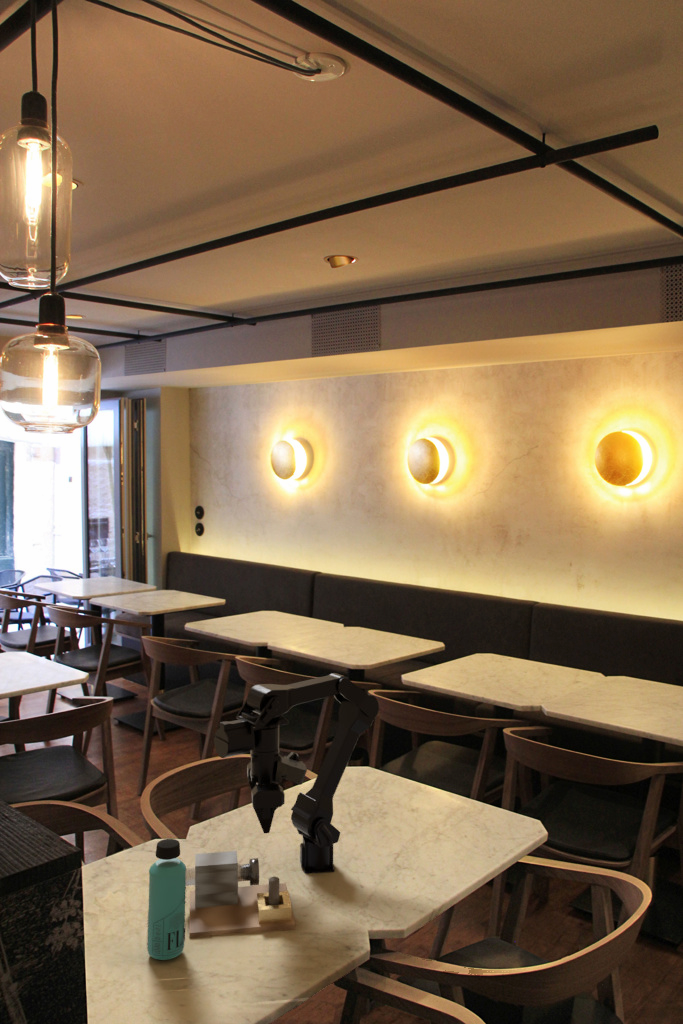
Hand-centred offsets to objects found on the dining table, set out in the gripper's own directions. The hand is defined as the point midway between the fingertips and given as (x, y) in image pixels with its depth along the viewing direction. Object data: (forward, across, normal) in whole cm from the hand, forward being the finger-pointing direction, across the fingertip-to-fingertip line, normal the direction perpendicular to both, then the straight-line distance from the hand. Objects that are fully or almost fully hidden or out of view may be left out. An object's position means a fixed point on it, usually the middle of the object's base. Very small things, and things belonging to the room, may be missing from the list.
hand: (264, 823), depth 163 cm
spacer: (+11, -15, 0) cm, 18 cm away
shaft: (+8, -8, +9) cm, 15 cm away
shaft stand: (+12, -12, +6) cm, 18 cm away
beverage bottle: (+12, -24, +19) cm, 33 cm away
